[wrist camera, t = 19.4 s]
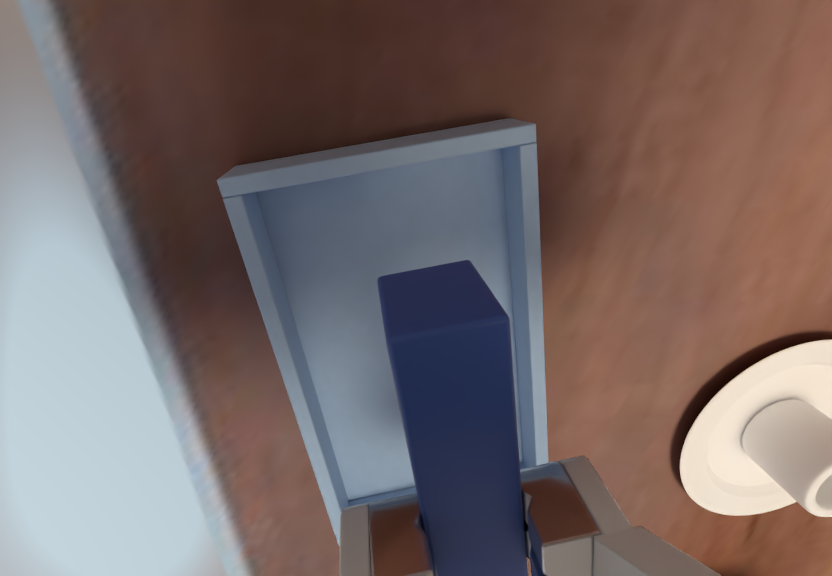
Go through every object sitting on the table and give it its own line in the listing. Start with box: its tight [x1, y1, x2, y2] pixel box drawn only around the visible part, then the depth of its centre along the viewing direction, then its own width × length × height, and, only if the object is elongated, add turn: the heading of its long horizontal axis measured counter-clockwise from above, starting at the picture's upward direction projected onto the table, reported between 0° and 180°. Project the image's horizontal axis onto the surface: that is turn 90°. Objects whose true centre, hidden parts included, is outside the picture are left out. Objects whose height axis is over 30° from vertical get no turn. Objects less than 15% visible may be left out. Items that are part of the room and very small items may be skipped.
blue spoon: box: [377, 260, 529, 576], centre depth 10 cm, size 13×4×2 cm, turn 9°
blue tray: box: [217, 118, 548, 546], centre depth 19 cm, size 17×10×2 cm, turn 9°
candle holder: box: [680, 340, 832, 517], centre depth 24 cm, size 12×12×4 cm
